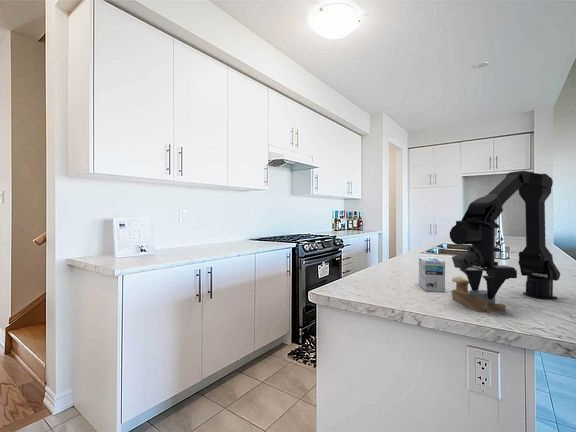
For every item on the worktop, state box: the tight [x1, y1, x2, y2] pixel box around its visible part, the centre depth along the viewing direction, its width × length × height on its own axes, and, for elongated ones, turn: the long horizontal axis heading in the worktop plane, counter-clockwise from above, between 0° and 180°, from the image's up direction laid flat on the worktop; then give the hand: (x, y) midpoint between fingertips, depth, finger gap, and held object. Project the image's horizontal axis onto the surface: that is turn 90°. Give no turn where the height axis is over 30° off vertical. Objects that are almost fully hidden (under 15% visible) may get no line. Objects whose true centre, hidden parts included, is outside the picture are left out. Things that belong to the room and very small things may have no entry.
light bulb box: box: [418, 256, 446, 293], centre depth 110 cm, size 11×7×11 cm, turn 168°
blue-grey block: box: [469, 289, 496, 304], centre depth 90 cm, size 5×4×4 cm
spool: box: [451, 276, 470, 294], centre depth 102 cm, size 6×6×5 cm
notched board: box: [451, 289, 507, 313], centre depth 90 cm, size 8×12×3 cm
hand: (482, 296), depth 90 cm, fingers open, 6 cm apart
